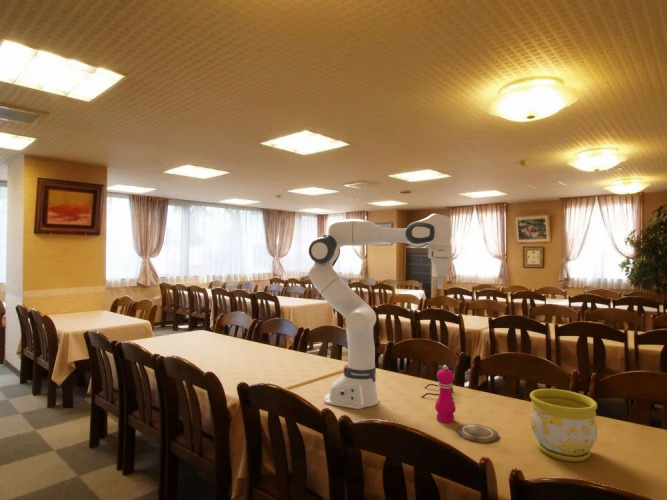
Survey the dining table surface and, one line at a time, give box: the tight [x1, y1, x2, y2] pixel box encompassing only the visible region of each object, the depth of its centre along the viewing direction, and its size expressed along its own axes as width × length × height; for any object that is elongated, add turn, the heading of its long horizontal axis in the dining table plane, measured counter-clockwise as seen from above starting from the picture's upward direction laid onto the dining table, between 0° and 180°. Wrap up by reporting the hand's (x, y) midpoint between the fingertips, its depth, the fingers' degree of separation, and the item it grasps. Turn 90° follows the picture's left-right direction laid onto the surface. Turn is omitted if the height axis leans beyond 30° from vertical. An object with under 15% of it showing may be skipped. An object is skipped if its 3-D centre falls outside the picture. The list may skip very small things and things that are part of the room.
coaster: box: [456, 423, 499, 444], centre depth 135 cm, size 13×13×1 cm
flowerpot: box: [529, 388, 598, 463], centre depth 123 cm, size 18×18×16 cm
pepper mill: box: [434, 364, 456, 424], centre depth 147 cm, size 7×7×20 cm
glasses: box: [421, 381, 454, 400], centre depth 175 cm, size 13×13×5 cm
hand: (438, 288), depth 160 cm, fingers open, 8 cm apart
